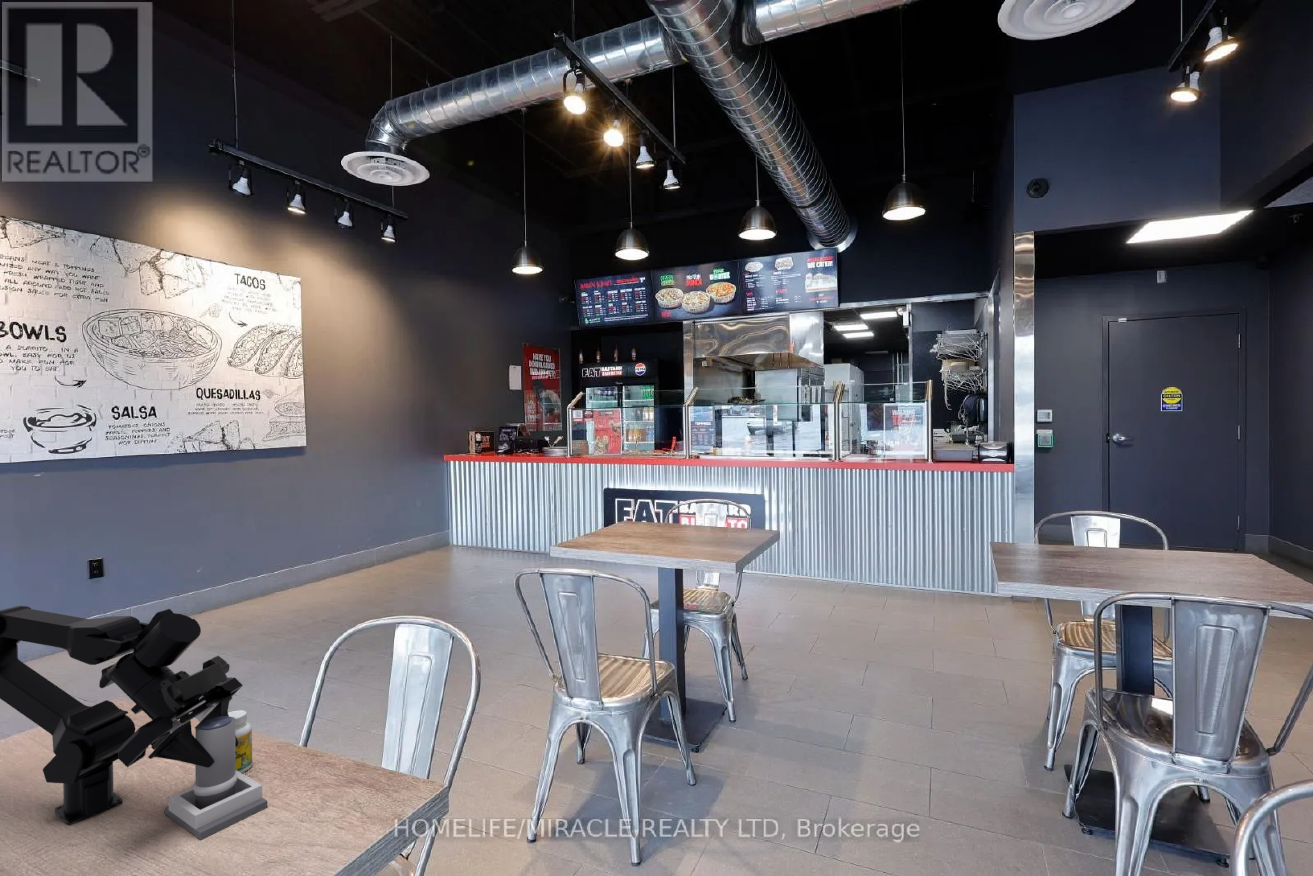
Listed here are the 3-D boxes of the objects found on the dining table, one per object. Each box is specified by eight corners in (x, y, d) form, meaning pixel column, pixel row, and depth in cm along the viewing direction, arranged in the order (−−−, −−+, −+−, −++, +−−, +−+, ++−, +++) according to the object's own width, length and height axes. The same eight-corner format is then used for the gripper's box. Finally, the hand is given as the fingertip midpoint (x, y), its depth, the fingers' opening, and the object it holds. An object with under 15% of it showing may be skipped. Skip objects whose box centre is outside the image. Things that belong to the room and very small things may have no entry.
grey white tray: (164, 813, 93) (164, 794, 93) (230, 784, 101) (229, 766, 101) (200, 840, 87) (200, 819, 87) (267, 807, 95) (267, 788, 95)
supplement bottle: (252, 758, 109) (251, 705, 109) (252, 772, 105) (251, 716, 105) (215, 768, 106) (214, 713, 106) (213, 782, 102) (213, 725, 102)
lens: (187, 804, 93) (187, 724, 93) (227, 787, 98) (227, 711, 98) (203, 816, 90) (203, 733, 90) (243, 798, 95) (243, 719, 95)
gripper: (137, 671, 85) (217, 749, 85) (231, 628, 103) (296, 693, 103) (81, 728, 85) (161, 806, 85) (184, 675, 103) (250, 739, 103)
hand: (224, 755), depth 94 cm, fingers closed on lens, 5 cm apart
